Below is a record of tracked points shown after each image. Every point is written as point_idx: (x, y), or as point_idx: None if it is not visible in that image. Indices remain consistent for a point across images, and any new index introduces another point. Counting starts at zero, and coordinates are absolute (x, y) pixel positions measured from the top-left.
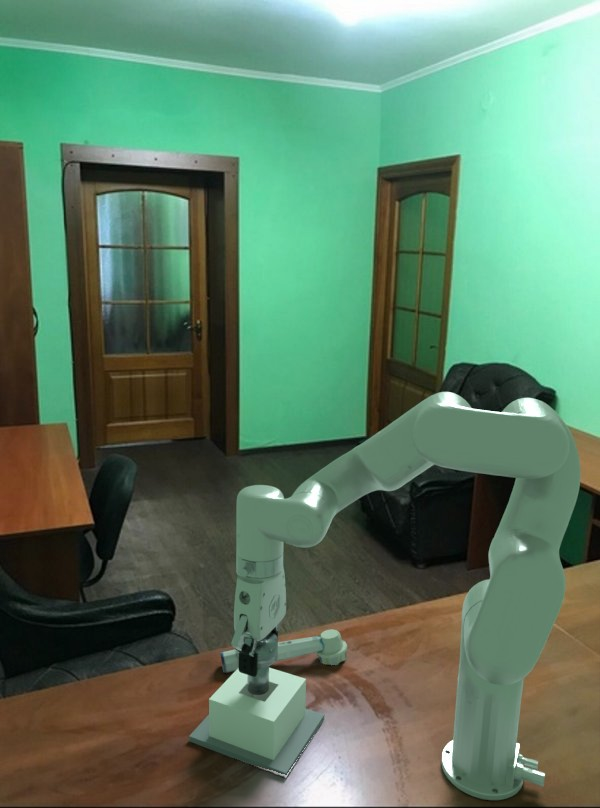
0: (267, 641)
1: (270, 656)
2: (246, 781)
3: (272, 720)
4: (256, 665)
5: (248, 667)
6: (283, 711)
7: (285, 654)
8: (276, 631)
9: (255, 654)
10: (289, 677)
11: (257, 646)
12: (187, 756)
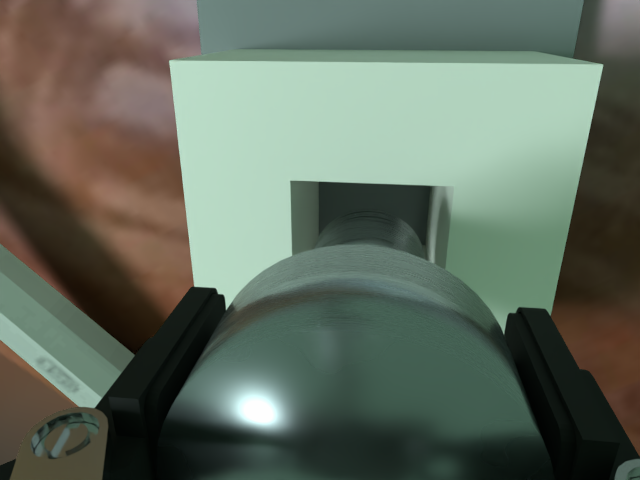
0: (327, 426)
1: (440, 305)
2: (635, 107)
3: (595, 77)
4: (565, 358)
5: (599, 401)
6: (471, 62)
7: (4, 263)
8: (118, 409)
9: (611, 451)
10: (207, 154)
11: (459, 478)
12: (575, 332)
